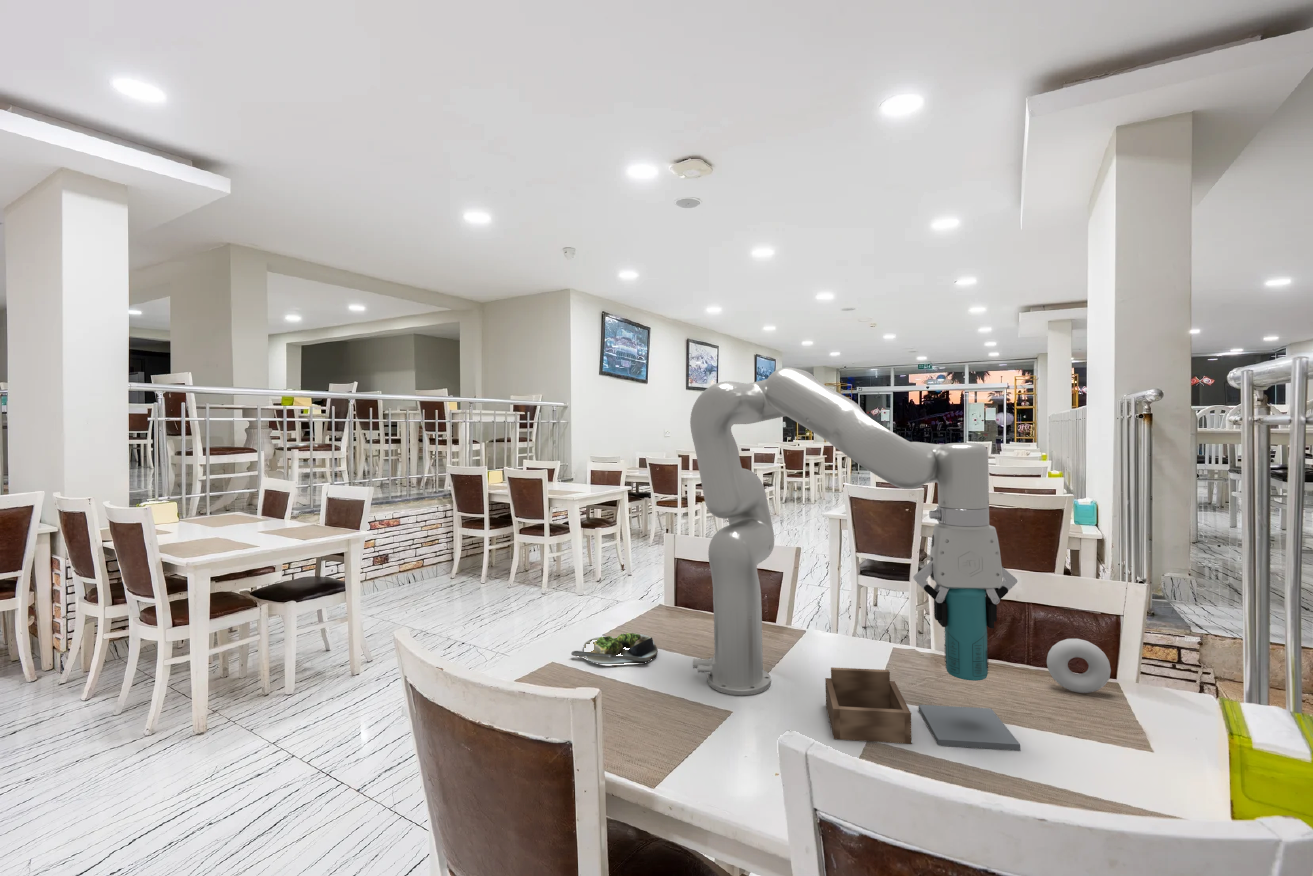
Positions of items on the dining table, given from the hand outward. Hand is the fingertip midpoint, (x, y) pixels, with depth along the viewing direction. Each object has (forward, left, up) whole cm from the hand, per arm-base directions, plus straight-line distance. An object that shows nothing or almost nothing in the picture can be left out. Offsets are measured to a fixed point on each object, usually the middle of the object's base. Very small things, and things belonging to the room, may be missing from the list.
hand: (965, 624), depth 100 cm
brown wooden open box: (-16, 0, -18) cm, 24 cm away
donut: (+25, +17, -18) cm, 35 cm away
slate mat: (0, 0, -18) cm, 18 cm away
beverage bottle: (0, 0, -10) cm, 10 cm away
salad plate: (-65, +27, -18) cm, 72 cm away
